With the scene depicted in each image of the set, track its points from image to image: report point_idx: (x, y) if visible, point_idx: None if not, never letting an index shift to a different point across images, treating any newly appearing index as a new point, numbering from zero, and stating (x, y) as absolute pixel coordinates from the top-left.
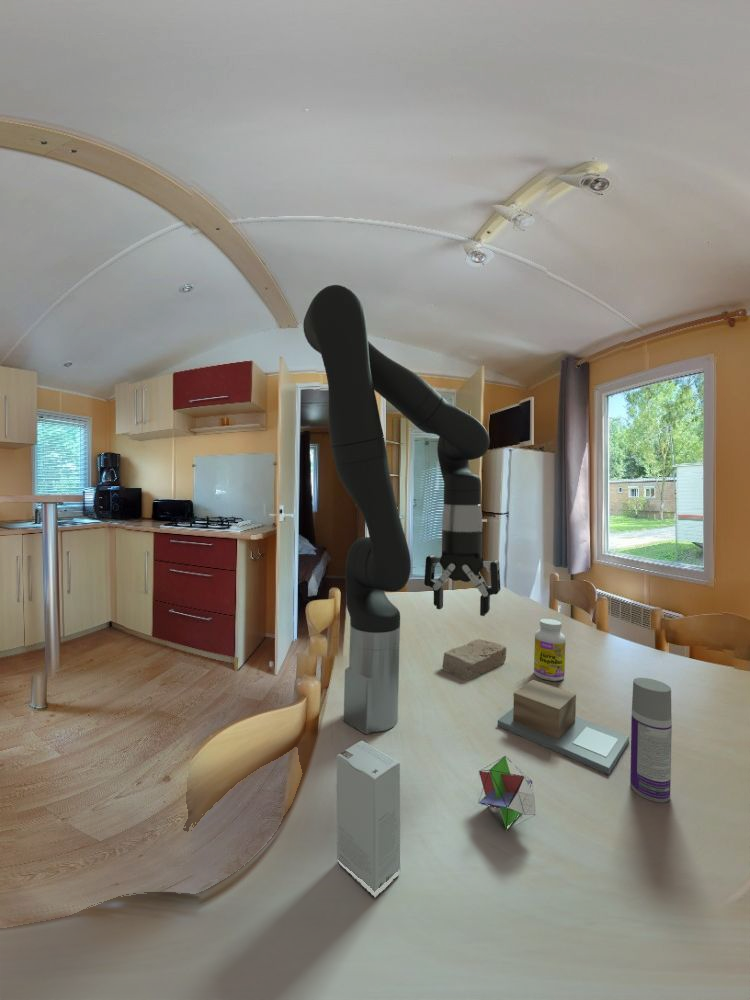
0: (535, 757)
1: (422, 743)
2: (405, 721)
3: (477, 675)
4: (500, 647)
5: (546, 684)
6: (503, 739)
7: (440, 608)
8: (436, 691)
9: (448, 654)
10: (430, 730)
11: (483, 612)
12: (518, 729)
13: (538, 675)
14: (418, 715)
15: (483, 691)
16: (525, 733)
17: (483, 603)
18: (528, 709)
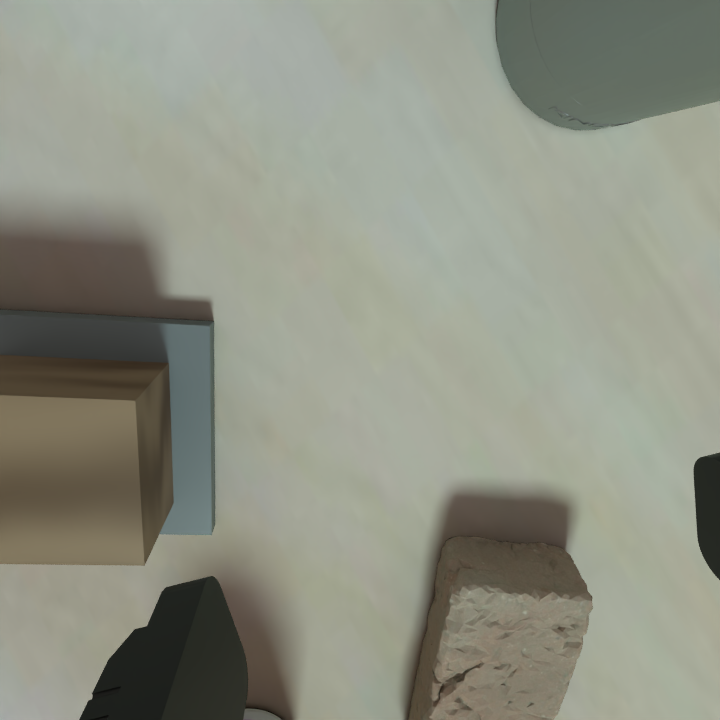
0: (25, 227)
1: (351, 11)
2: (481, 102)
3: (435, 585)
4: None
5: (81, 564)
6: (155, 254)
7: (701, 479)
8: (499, 384)
9: (569, 596)
10: (375, 116)
11: (160, 610)
12: (126, 320)
13: (265, 713)
14: (464, 178)
15: (365, 500)
16: (100, 318)
17: (113, 716)
18: (85, 381)
